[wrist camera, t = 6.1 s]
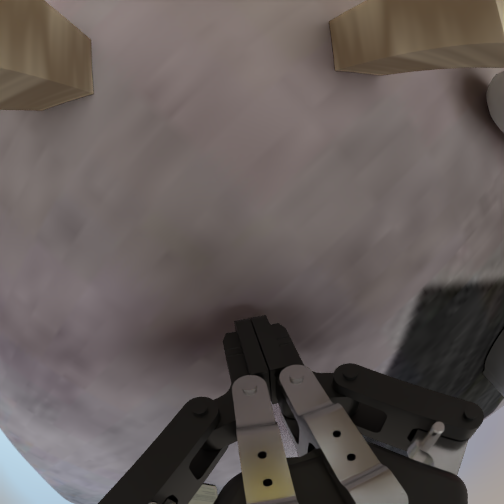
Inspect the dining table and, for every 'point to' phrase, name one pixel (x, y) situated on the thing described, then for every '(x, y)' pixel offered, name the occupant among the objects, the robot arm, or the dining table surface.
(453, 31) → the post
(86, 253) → the dining table surface
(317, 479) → the robot arm
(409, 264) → the dining table surface
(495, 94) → the donut
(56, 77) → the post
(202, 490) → the skincare box
